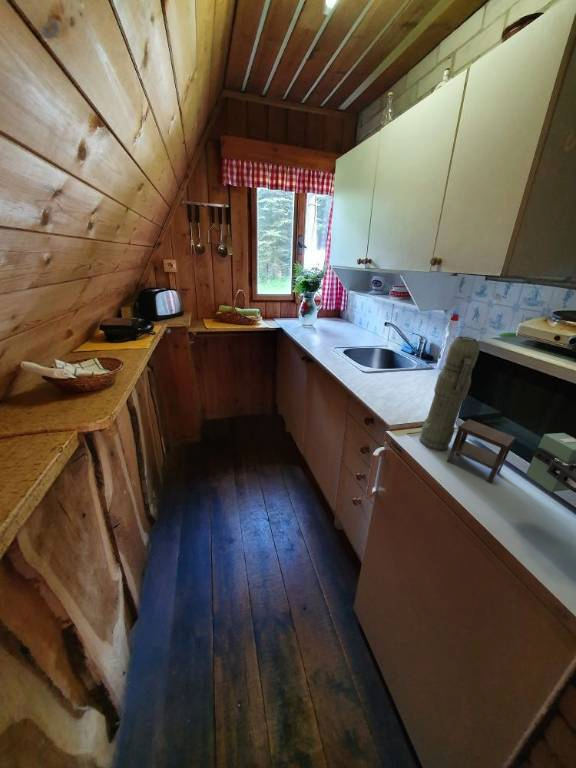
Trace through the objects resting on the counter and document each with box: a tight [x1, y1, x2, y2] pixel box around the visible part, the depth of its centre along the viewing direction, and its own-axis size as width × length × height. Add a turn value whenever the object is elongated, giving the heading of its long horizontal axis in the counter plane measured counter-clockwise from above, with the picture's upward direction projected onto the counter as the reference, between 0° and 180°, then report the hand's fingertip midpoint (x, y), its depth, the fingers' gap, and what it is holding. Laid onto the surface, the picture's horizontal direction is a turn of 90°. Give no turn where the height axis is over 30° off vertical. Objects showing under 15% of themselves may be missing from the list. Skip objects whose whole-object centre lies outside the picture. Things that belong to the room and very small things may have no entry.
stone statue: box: [419, 336, 480, 452], centre depth 93 cm, size 9×12×35 cm
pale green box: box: [525, 432, 576, 493], centre depth 62 cm, size 6×6×10 cm
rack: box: [446, 418, 516, 484], centre depth 87 cm, size 12×8×12 cm, turn 42°
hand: (547, 450), depth 64 cm, fingers closed on pale green box, 5 cm apart
